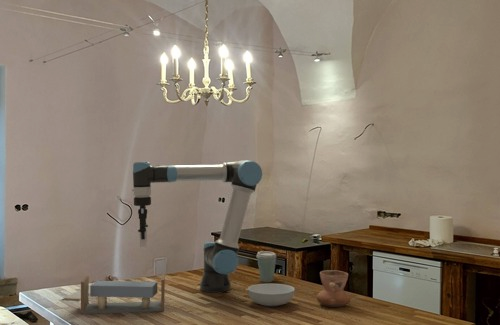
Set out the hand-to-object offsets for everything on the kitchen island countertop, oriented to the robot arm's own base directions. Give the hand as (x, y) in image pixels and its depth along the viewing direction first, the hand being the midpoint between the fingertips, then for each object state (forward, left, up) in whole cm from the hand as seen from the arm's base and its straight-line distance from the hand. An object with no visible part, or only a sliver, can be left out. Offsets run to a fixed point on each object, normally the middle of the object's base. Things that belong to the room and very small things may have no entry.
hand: (143, 244), depth 229 cm
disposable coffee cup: (-62, -33, -26) cm, 75 cm away
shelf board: (+7, +11, -19) cm, 23 cm away
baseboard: (+28, -21, -26) cm, 44 cm away
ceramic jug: (-83, +16, -26) cm, 88 cm away
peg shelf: (+7, +11, -25) cm, 28 cm away
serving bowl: (-56, +11, -26) cm, 62 cm away
